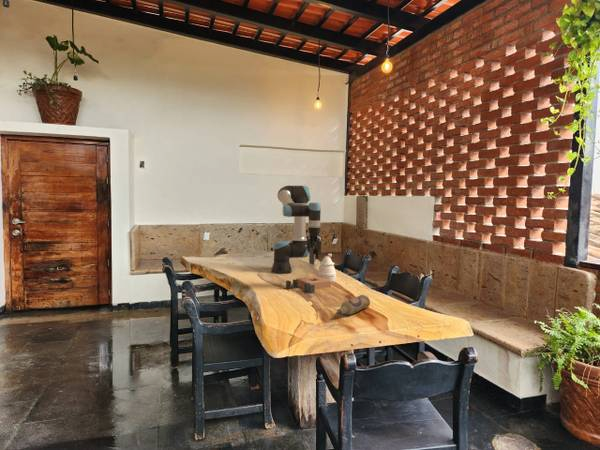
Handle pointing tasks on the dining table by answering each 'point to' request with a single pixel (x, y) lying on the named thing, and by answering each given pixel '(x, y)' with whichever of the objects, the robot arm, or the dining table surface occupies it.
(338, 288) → the dining table surface
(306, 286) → the clip
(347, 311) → the decorative bottle
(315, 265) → the plug
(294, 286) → the clip
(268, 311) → the dining table surface
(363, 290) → the dining table surface
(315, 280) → the end holder
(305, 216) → the robot arm
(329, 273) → the honey pot
